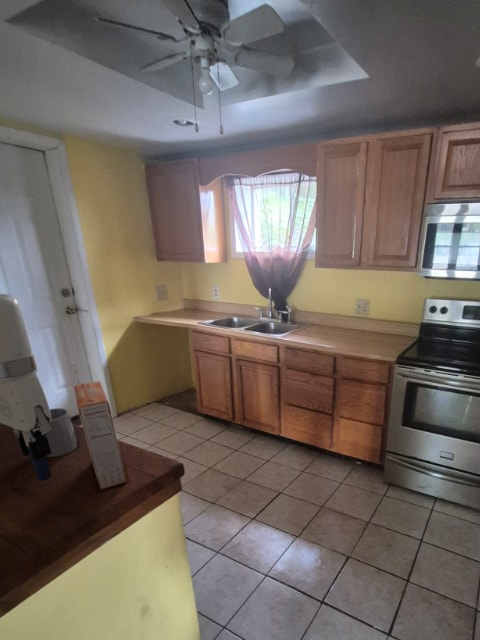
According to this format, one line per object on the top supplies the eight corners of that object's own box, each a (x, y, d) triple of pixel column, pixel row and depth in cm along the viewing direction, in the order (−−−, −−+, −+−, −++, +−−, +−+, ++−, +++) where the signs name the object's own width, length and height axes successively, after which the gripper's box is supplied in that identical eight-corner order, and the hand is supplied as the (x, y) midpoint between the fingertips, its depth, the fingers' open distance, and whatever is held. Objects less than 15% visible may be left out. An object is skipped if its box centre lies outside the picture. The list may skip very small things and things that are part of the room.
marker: (34, 481, 74) (18, 433, 70) (42, 473, 76) (27, 426, 72) (47, 481, 74) (32, 433, 70) (54, 473, 77) (40, 427, 72)
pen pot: (34, 457, 95) (23, 422, 91) (53, 441, 102) (43, 408, 98) (66, 456, 95) (56, 422, 91) (83, 440, 103) (74, 408, 99)
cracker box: (92, 462, 93) (72, 384, 85) (118, 455, 96) (101, 379, 88) (98, 491, 82) (76, 406, 74) (127, 483, 85) (109, 400, 77)
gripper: (-40, 365, 66) (-8, 453, 73) (14, 380, 60) (44, 475, 67) (6, 354, 72) (32, 437, 79) (59, 367, 66) (82, 456, 73)
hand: (37, 454), depth 73 cm, fingers closed on marker, 2 cm apart
